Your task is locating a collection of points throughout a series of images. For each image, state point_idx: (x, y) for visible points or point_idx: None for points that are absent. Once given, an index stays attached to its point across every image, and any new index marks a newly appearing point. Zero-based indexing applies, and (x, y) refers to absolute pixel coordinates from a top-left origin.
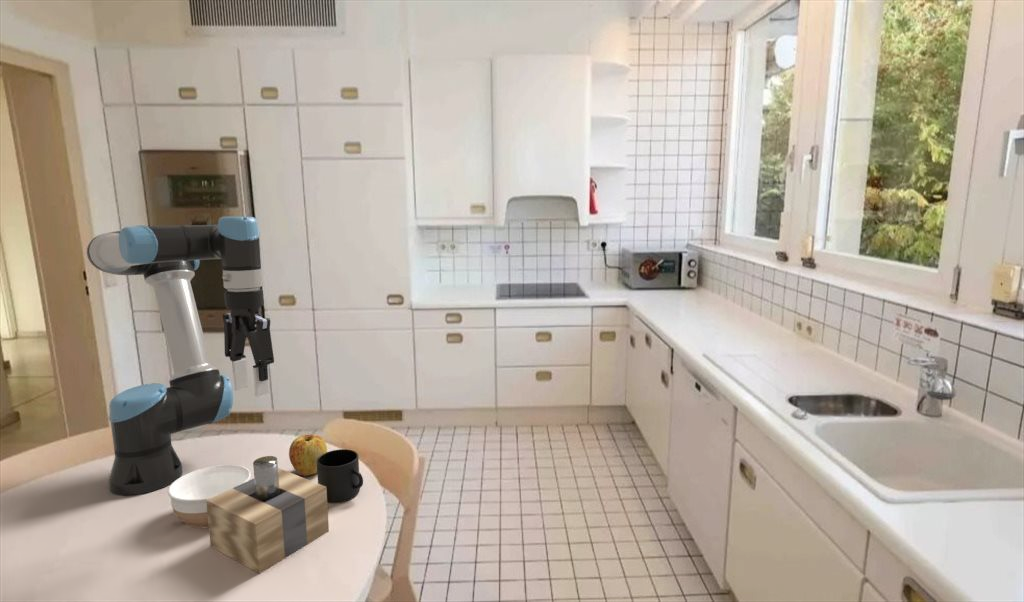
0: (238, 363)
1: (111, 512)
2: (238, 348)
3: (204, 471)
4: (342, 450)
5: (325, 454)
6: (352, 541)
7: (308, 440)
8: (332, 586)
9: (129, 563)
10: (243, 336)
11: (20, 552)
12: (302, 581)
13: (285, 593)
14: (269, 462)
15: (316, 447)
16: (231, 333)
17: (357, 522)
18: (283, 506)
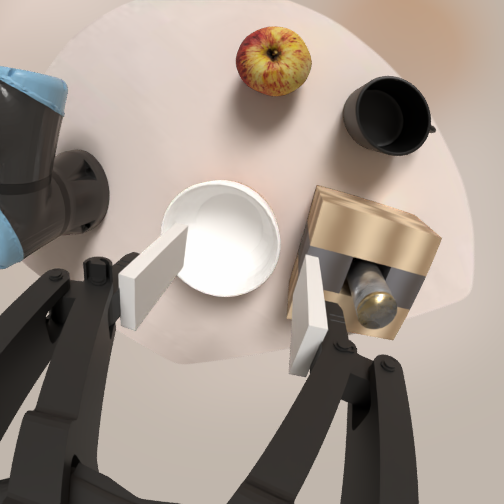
0: (140, 309)
1: (115, 259)
2: (104, 358)
3: (171, 213)
4: (381, 80)
5: (359, 103)
6: (449, 227)
7: (274, 54)
8: (453, 295)
9: (229, 323)
10: (87, 414)
11: (122, 327)
12: (425, 298)
13: (417, 315)
14: (388, 314)
15: (304, 65)
16: (9, 390)
17: (439, 187)
18: (407, 301)
